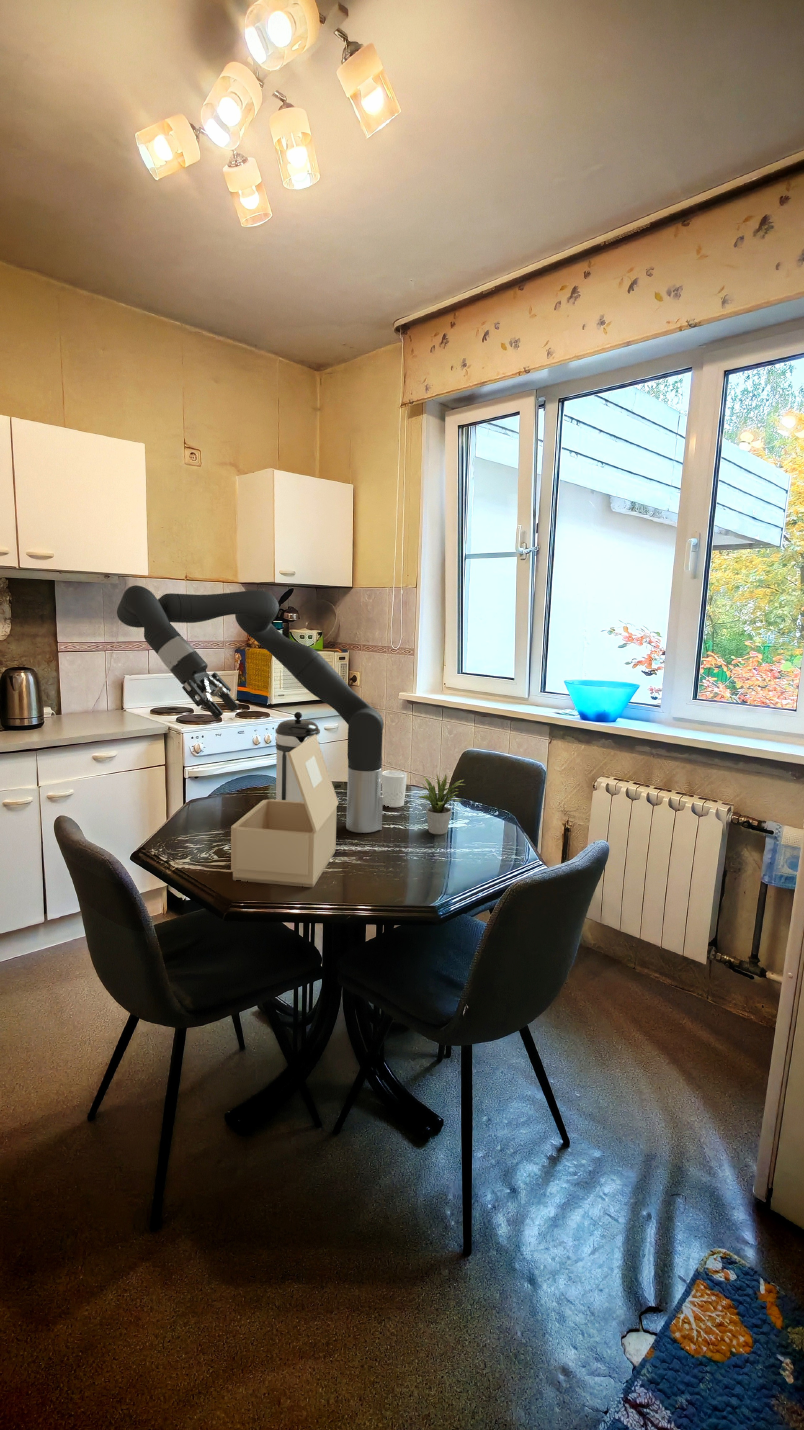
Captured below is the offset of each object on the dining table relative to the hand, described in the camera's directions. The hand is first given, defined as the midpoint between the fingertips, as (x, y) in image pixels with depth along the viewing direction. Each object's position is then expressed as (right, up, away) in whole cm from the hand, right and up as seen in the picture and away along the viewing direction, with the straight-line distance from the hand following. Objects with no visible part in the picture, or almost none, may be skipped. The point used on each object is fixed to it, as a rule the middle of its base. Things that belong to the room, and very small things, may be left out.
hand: (228, 712), depth 153 cm
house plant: (+52, -33, +26) cm, 67 cm away
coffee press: (+9, -29, +40) cm, 50 cm away
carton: (+14, -36, -1) cm, 38 cm away
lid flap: (+21, -16, -5) cm, 26 cm away
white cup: (+38, -29, +51) cm, 70 cm away
